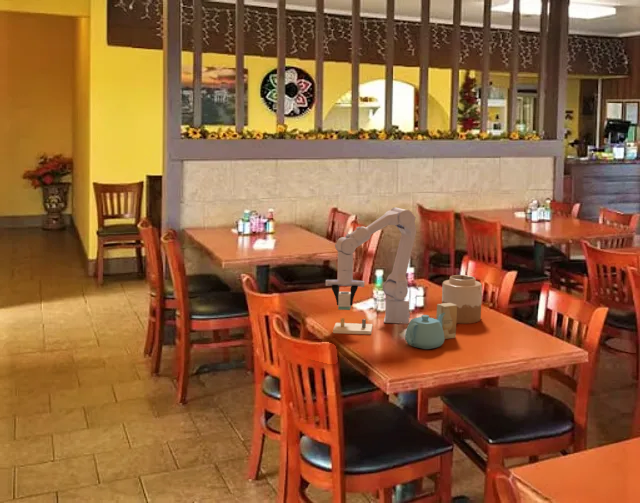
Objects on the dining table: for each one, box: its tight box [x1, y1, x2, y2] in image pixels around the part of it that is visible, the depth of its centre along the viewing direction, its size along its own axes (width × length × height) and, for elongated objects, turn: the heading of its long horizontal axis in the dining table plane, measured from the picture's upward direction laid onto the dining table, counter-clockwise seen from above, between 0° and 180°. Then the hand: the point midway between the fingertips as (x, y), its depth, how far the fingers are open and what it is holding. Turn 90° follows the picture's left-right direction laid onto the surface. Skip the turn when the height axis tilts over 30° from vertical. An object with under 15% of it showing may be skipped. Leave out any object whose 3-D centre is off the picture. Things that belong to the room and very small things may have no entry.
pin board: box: [332, 318, 374, 335], centre depth 278 cm, size 14×10×4 cm
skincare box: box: [435, 303, 457, 340], centre depth 268 cm, size 6×4×12 cm
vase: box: [441, 274, 483, 325], centre depth 293 cm, size 15×15×17 cm
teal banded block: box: [337, 291, 352, 311], centre depth 281 cm, size 4×4×6 cm
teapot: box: [404, 313, 446, 350], centre depth 259 cm, size 13×11×18 cm
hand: (344, 304), depth 281 cm, fingers closed on teal banded block, 4 cm apart
